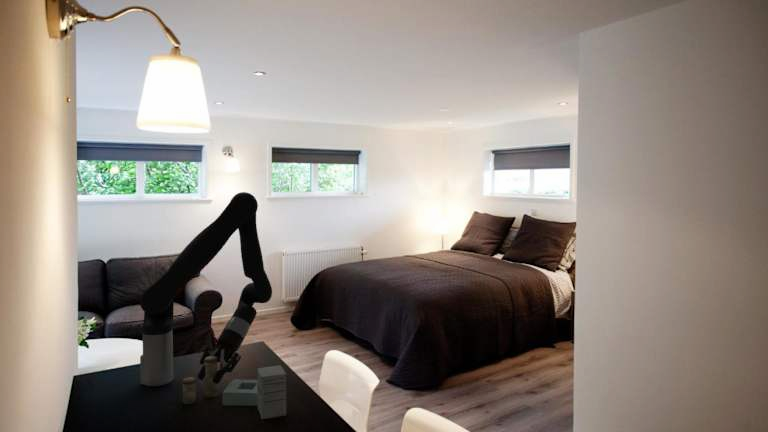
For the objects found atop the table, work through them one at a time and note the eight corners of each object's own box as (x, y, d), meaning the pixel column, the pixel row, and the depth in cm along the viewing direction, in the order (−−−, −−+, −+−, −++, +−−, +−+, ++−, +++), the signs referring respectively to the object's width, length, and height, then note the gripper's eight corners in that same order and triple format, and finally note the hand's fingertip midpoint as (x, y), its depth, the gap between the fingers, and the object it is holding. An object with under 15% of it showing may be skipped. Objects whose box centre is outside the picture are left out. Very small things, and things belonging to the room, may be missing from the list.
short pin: (180, 404, 147) (180, 381, 147) (186, 399, 151) (185, 377, 150) (192, 404, 147) (192, 381, 146) (197, 399, 151) (197, 377, 150)
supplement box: (256, 409, 144) (256, 367, 143) (281, 405, 147) (281, 364, 146) (260, 420, 137) (260, 376, 137) (286, 415, 140) (286, 373, 140)
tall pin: (203, 397, 152) (203, 360, 151) (208, 392, 155) (207, 355, 155) (215, 397, 152) (214, 360, 151) (219, 392, 155) (219, 356, 155)
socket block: (222, 405, 146) (222, 392, 146) (233, 391, 156) (233, 379, 156) (261, 405, 146) (261, 393, 146) (270, 392, 156) (270, 380, 156)
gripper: (212, 325, 162) (183, 371, 152) (245, 330, 156) (217, 379, 146) (223, 336, 167) (197, 382, 157) (256, 342, 161) (230, 390, 151)
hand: (207, 380), depth 152 cm, fingers open, 5 cm apart
